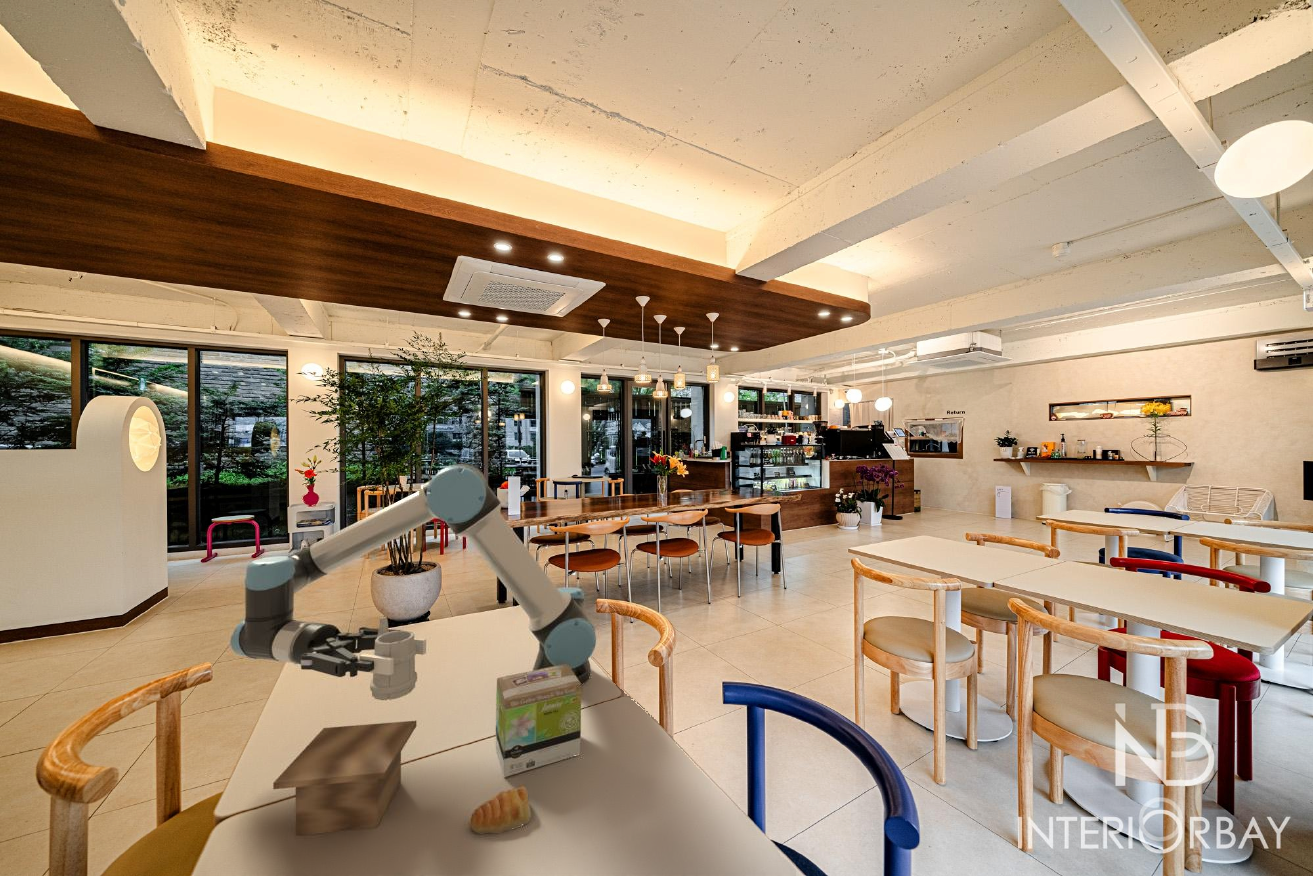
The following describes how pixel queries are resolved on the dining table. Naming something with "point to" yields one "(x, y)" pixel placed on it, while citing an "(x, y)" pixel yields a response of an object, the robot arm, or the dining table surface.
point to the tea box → (537, 718)
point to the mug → (404, 663)
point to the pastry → (502, 812)
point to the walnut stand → (346, 776)
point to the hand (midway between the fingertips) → (409, 656)
